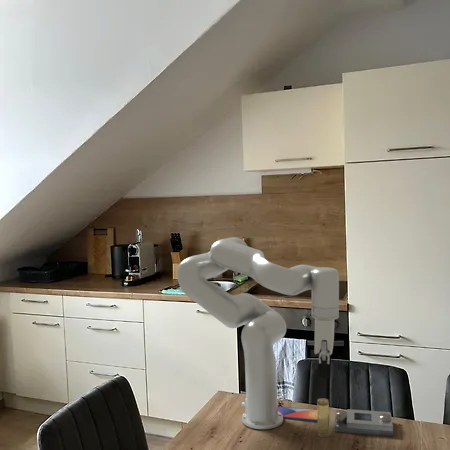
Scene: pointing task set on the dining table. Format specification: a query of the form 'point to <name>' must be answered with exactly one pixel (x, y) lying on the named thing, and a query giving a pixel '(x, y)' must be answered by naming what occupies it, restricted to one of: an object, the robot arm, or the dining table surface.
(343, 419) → the grey block with knobs
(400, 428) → the dining table surface
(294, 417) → the smartphone
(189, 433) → the dining table surface
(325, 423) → the pin
